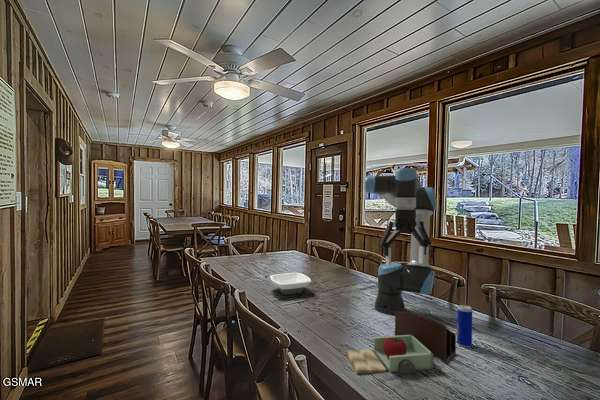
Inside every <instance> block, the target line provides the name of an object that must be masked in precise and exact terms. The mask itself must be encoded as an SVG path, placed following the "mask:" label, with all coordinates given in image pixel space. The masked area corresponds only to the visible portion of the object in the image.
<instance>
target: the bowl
mask: <svg viewBox="0 0 600 400" xmlns="http://www.w3.org/2000/svg"><path fill="white" fill-rule="evenodd" d="M269 279H270V280H271V281H272V282H273V284H274V285H275V286H276V287H277V289H278V290H279V292H280V293H281V294H282V293H283V294H282V295H284V294H285V295H284V296H288V295H287V294H293V295H297V294H296V293H299V294H301V293H302V292H303V290H304V289H305V288H306V287H308V285H309V284H310V283H311V282H312V280H311V278H310V277H309V276H308V275H306V274H303V273H301V272H287V273H286V272H285V273H276V274H271V275H269Z"/></svg>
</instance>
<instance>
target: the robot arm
mask: <svg viewBox="0 0 600 400" xmlns="http://www.w3.org/2000/svg"><path fill="white" fill-rule="evenodd" d="M364 190H365V193H367V194H376V195H378V196H380V197H381V198H383V199H384V200H385V202H386V203H387V204H388V205H390V206H393V207H395V210H394V212H395V213H394V214H395V215H394V218H395V220H394V221H389V220H388V221H387V222H386V223H387V224H386V228H385V230H384V232H383V234H382V235H381V238H380V239H379V242H378V244H379V246H381V247H383V256H385V263H383V264H381V265H379V267H378V271H377V272H378V273H377V285H378V286H377V289H378V290H377V296H376V299H375V300H374V309H375V310H376V311H377V312H379V313H382V314H387V315H395V313H396V311H403V312H406V305H405V302H404V299H403V296H402V292H408V293H412V294H419V295H430V294H431V293H432V290H433V287H434V281H435V271H434V270H432V265H430V263H429V257H430V256H429V255H430V246H431V245H432V241H431V239H430V229H431V216H432V215H433V214H434V212H435V211H436V210H437V209H438V208H437V207H438V206H437V198H436V196H437V195H436V191H435V189H434V187H431V186H429V187H428V186H421V181H420V179H419V178H418V175H417V170H416V168H413V167H405V168H404V167H403V168H396V170H395V175H368V176H366V177H365V180H364ZM393 228H394V230H393ZM392 231H393V232H392ZM400 234H411V235H410V237H411V238H410V252H409V253H410V255H409V259H410V260H409V261H408V263H406V267H403V265H402V263H398V262H392V248H391V247H390V246H391V245H392V244H393V243H394V242H395V240H396V239H397V237H399V236H400Z"/></svg>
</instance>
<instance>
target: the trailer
mask: <svg viewBox="0 0 600 400" xmlns="http://www.w3.org/2000/svg"><path fill="white" fill-rule="evenodd" d="M389 337H393V338H400V339H402V340H403V341H404V342H405V344H406V348H407V351H406V355H395V356H389V357H388V356H387V355H386V354H385V352H384V349H383V345H384V341H385V340H386V339H387V338H389ZM373 350H374V352H375V353H376V354H377V356H378V357H379V358H380V359H381V361H382V362H383V363H384V365H385V366H386V367H387V369H388V370H389V371H388V372H389V373H400V374H401V376H408V375H412V376H413V375H415V374H416V371H421V370H423V371H424V370H433V369H434V356H433V353H432V352H431V351H429V350H428V349H427V348H426V347H425V346H424V345H423V344H422V343H420V342H419V341H418V340H417V339H416V338H415V337H414V336H413V335H399V336H395V335H389V336H388V335H387V336H376V337H375V336H374V337H373Z"/></svg>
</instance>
